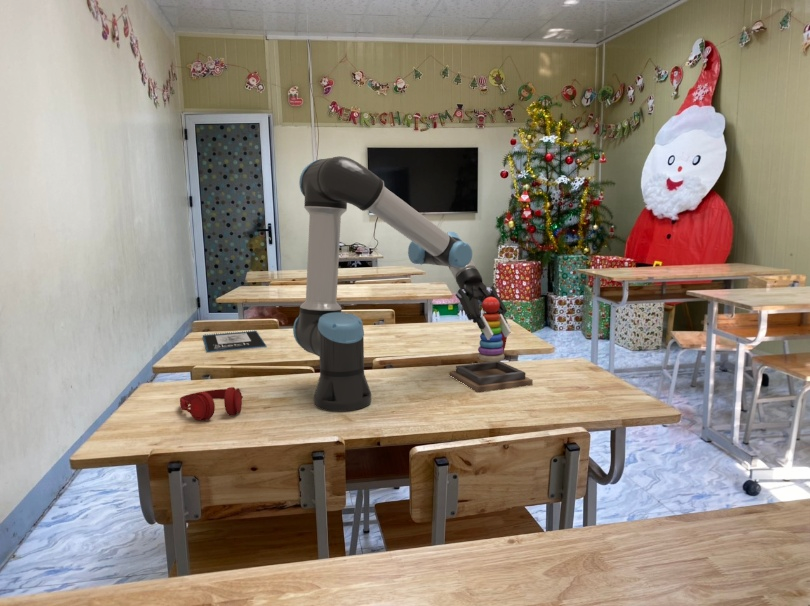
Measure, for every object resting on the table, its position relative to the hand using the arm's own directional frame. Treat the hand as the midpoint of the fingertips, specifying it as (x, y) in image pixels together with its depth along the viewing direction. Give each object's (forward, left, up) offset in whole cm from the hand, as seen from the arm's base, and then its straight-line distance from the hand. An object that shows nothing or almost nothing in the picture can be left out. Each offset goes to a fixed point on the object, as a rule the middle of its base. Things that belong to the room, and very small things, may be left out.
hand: (499, 335), depth 172 cm
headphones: (-80, +10, -15) cm, 82 cm away
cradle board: (-1, +3, -14) cm, 15 cm away
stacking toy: (-1, +4, -8) cm, 9 cm away
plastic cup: (+15, +27, -14) cm, 35 cm away
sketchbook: (-66, +91, -15) cm, 113 cm away
